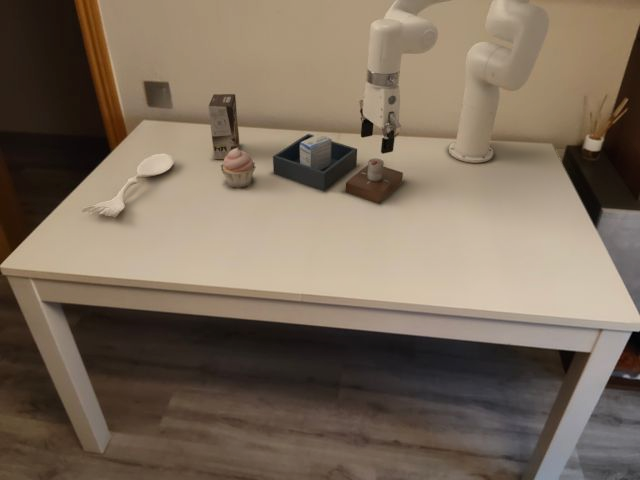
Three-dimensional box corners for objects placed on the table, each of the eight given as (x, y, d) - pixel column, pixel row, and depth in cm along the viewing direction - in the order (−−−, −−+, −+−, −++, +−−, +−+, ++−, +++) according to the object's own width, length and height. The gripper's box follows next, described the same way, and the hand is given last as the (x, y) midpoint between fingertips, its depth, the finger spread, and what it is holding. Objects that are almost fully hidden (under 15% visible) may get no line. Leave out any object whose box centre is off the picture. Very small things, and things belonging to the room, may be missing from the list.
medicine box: (320, 161, 155) (320, 132, 150) (331, 166, 152) (331, 138, 147) (299, 170, 150) (299, 141, 145) (310, 176, 148) (310, 147, 143)
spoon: (83, 220, 131) (80, 208, 129) (151, 159, 156) (149, 148, 154) (116, 226, 129) (113, 214, 127) (180, 163, 154) (178, 152, 152)
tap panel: (369, 171, 151) (370, 161, 149) (402, 182, 146) (403, 172, 145) (345, 192, 142) (345, 181, 140) (378, 204, 138) (379, 193, 136)
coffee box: (236, 160, 156) (231, 106, 146) (213, 159, 156) (207, 106, 146) (240, 145, 163) (236, 93, 153) (219, 145, 163) (213, 93, 154)
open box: (307, 150, 161) (307, 133, 158) (356, 166, 154) (357, 148, 150) (273, 173, 150) (272, 156, 146) (324, 191, 142) (324, 173, 139)
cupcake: (262, 186, 144) (260, 152, 138) (228, 194, 141) (224, 159, 135) (250, 170, 151) (247, 137, 145) (217, 177, 148) (213, 144, 142)
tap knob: (371, 171, 145) (373, 155, 142) (385, 176, 143) (386, 159, 140) (364, 178, 142) (365, 161, 139) (377, 182, 140) (379, 166, 137)
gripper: (417, 86, 122) (408, 156, 132) (377, 63, 134) (371, 128, 144) (389, 91, 119) (381, 161, 129) (350, 67, 131) (346, 133, 141)
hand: (376, 144), depth 137 cm, fingers open, 9 cm apart
